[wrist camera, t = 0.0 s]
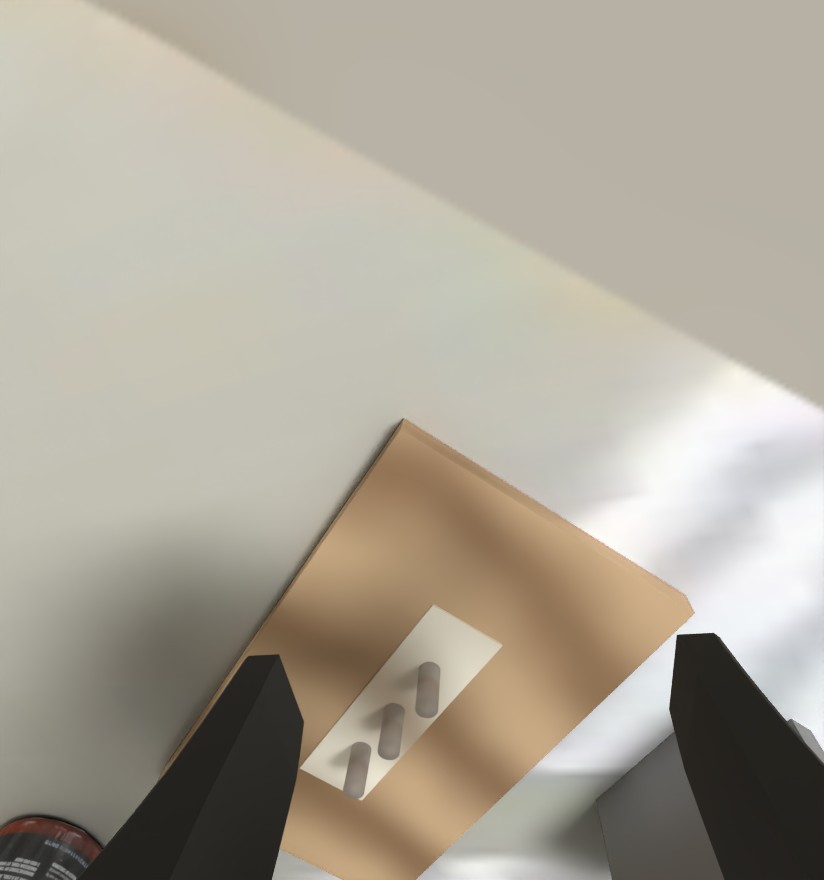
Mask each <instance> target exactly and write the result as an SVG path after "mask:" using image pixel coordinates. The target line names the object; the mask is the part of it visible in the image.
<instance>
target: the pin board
mask: <svg viewBox="0 0 824 880" xmlns="http://www.w3.org/2000/svg"><path fill="white" fill-rule="evenodd" d="M694 613H695V612H694V611H693V609H692V607H691V605H690V603H689V601H688V599H687V597H686V595H684V594H683V593H681V592H679V591H678V590H676V589H675V588H673V587H671V586H670V585H668V584H667V583H665V582H663V581H662V580H660V579H659V578H657V577H655V576H654V575H652V574H651V573H649V572H648V571H646V570H644V569H643V568H641V567H640V566H638V565H636V564H635V563H633V562H632V561H630V560H628V559H627V558H625V557H624V556H622V555H620V554H619V553H617V552H616V551H614V550H613V549H611V548H609V547H608V546H606V545H605V544H603V543H601V542H600V541H598V540H597V539H595V538H593V537H592V536H590V535H589V534H587V533H585V532H584V531H582V530H581V529H579V528H578V527H576V526H574V525H573V524H571V523H570V522H568V521H566V520H565V519H563V518H562V517H560V516H558V515H557V514H555V513H554V512H552V511H550V510H549V509H547V508H546V507H544V506H543V505H541V504H539V503H538V502H536V501H535V500H533V499H531V498H530V497H528V496H527V495H525V494H523V493H522V492H520V491H519V490H517V489H516V488H514V487H512V486H511V485H509V484H508V483H506V482H504V481H503V480H501V479H500V478H498V477H496V476H495V475H493V474H492V473H490V472H488V471H487V470H485V469H484V468H482V467H481V466H479V465H477V464H476V463H474V462H473V461H471V460H469V459H468V458H466V457H465V456H463V455H461V454H460V453H458V452H457V451H455V450H453V449H452V448H450V447H449V446H447V445H446V444H444V443H442V442H441V441H439V440H438V439H436V438H434V437H433V436H431V435H430V434H428V433H426V432H425V431H423V430H422V429H420V428H418V427H417V426H415V425H414V424H412V423H411V422H409V421H407V420H406V419H403V420H402V422H401V423H400V425H399V426H398V428H397V429H396V431H395V432H394V434H393V435H392V437H391V438H390V439H389V441H388V442H387V444H386V445H385V447H384V448H383V450H382V451H381V453H380V454H379V455H378V457H377V458H376V460H375V461H374V463H373V464H372V466H371V467H370V469H369V470H368V472H367V473H366V474H365V476H364V477H363V479H362V480H361V482H360V483H359V485H358V486H357V488H356V489H355V490H354V492H353V493H352V495H351V496H350V498H349V499H348V501H347V502H346V504H345V505H344V507H343V508H342V509H341V511H340V512H339V514H338V515H337V517H336V518H335V520H334V521H333V523H332V524H331V526H330V527H329V528H328V530H327V531H326V533H325V534H324V536H323V537H322V539H321V540H320V542H319V543H318V544H317V546H316V547H315V549H314V550H313V552H312V553H311V555H310V556H309V558H308V559H307V561H306V562H305V563H304V565H303V566H302V568H301V569H300V571H299V572H298V574H297V575H296V577H295V578H294V579H293V581H292V582H291V584H290V585H289V587H288V588H287V590H286V591H285V593H284V594H283V596H282V597H281V598H280V600H279V601H278V603H277V604H276V606H275V607H274V609H273V610H272V612H271V613H270V614H269V616H268V617H267V619H266V620H265V622H264V623H263V625H262V626H261V628H260V629H259V631H258V632H257V633H256V635H255V636H254V638H253V639H252V641H251V642H250V644H249V645H248V647H247V648H246V649H245V651H244V652H243V654H242V655H241V657H240V658H239V660H238V661H237V663H236V664H235V666H234V667H233V668H232V670H231V671H230V673H229V674H228V676H227V677H226V679H225V680H224V682H223V683H222V684H221V686H220V687H219V689H218V690H217V692H216V693H215V695H214V696H213V698H212V699H211V701H210V702H209V703H208V705H207V706H206V708H205V709H204V711H203V712H202V714H201V715H200V717H199V718H198V719H197V721H196V722H195V724H194V725H193V727H192V728H191V730H190V731H189V733H188V734H187V736H186V737H185V738H184V740H183V741H182V743H181V744H180V746H179V747H178V749H177V750H176V752H175V753H174V754H173V756H172V757H171V759H170V760H169V762H168V763H167V765H166V766H165V768H164V770H163V772H162V774H161V776H160V778H159V780H160V779H161V777H162V776H163V775H164V773H165V772H166V771H167V770H168V768H169V767H170V766H171V764H172V763H173V761H174V760H175V759H176V757H177V756H178V755H179V753H180V752H181V750H182V749H183V748H184V746H185V745H186V744H187V742H188V741H189V739H190V738H191V737H192V735H193V734H194V733H195V731H196V730H197V728H198V727H199V726H200V724H201V723H202V721H203V720H204V718H205V717H206V715H207V714H208V713H209V711H210V710H211V708H212V707H213V705H214V704H215V703H216V701H217V700H218V698H219V697H220V695H221V694H222V692H223V691H224V689H225V688H226V686H227V685H228V683H229V682H230V680H231V679H232V677H233V676H234V674H235V673H236V672H237V670H238V669H239V667H240V666H241V664H242V663H243V661H244V660H245V659H246V658H247V657H248V656H253V655H274V654H279V655H280V658H281V661H282V663H283V666H284V669H285V672H286V674H287V677H288V680H289V682H290V685H291V688H292V690H293V693H294V696H295V699H296V701H297V704H298V707H299V709H300V712H301V715H302V717H303V720H304V727H303V735H302V743H301V751H300V759H299V765H298V772H297V779H296V783H295V788H294V792H293V796H292V800H291V804H290V808H289V812H288V816H287V821H286V825H285V829H284V833H283V837H282V841H281V845H280V849H282V850H284V851H286V852H288V853H290V854H292V855H294V856H296V857H298V858H300V859H302V860H304V861H306V862H308V863H310V864H312V865H314V866H316V867H318V868H320V869H322V870H324V871H326V872H328V873H330V874H332V875H334V876H336V877H338V878H340V879H342V880H416V879H417V878H418V877H419V876H420V875H421V874H422V873H423V872H424V871H425V870H426V869H427V868H428V867H429V866H430V865H432V864H433V863H434V862H435V861H436V860H437V859H438V858H439V857H440V856H441V855H442V854H443V853H444V852H445V851H446V850H447V849H448V848H449V847H450V846H451V845H452V844H453V843H455V842H456V841H457V840H458V839H459V838H460V837H461V836H462V835H463V834H464V833H465V832H466V831H467V830H468V829H469V828H470V827H471V826H472V825H473V824H474V823H475V822H477V821H478V820H479V819H480V818H481V817H482V816H483V815H484V814H485V813H486V812H487V811H488V810H489V809H490V808H491V807H492V806H493V805H494V804H495V803H496V802H497V801H499V800H500V799H501V798H502V797H503V796H504V795H505V794H506V793H507V792H508V791H509V790H510V789H511V788H512V787H513V786H514V785H515V784H516V783H517V782H518V781H519V780H521V779H522V778H523V777H524V776H525V775H526V774H527V773H528V772H529V771H530V770H531V769H532V768H533V767H534V766H535V765H536V764H537V763H538V762H539V761H540V760H541V759H542V758H544V757H545V756H546V755H547V754H548V753H549V752H550V751H551V750H552V749H553V748H554V747H555V746H556V745H557V744H558V743H559V742H560V741H561V740H562V739H563V738H564V737H566V736H567V735H568V734H569V733H570V732H571V731H572V730H573V729H574V728H575V727H576V726H577V725H578V724H579V723H580V722H581V721H582V720H583V719H584V718H585V717H586V716H588V715H589V714H590V713H591V712H592V711H593V710H594V709H595V708H596V707H597V706H598V705H599V704H600V703H601V702H602V701H603V700H604V699H605V698H606V697H607V696H608V695H610V694H611V693H612V692H613V691H614V690H615V689H616V688H617V687H618V686H619V685H620V684H621V683H622V682H623V681H624V680H625V679H626V678H627V677H628V676H629V675H630V674H631V673H633V672H634V671H635V670H636V669H637V668H638V667H639V666H640V665H641V664H642V663H643V662H644V661H645V660H646V659H647V658H648V657H649V656H650V655H651V654H652V653H653V652H655V651H656V650H657V649H658V648H659V647H660V646H661V645H662V644H663V643H664V642H665V641H666V640H667V639H668V638H669V637H670V636H671V635H672V634H673V633H674V632H675V631H677V630H678V629H679V628H680V627H681V626H682V625H683V624H684V623H685V622H686V621H687V620H688V619H689V618H690V617H691V616H692V615H693V614H694ZM159 780H158V781H159Z"/></svg>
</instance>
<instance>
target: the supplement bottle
mask: <svg viewBox="0 0 824 880" xmlns="http://www.w3.org/2000/svg"><path fill="white" fill-rule="evenodd" d="M101 851H102V849H101V847H100V846H99V845H98V843H97V842H96V841H95V840H93V839H92V838H91V836H89V835H88V834H87V833H86V832H85V831H83V830H82V829H79V828H77V827H74V826H72V825H69V824H66V823H65V822H61V821H58V820H53V819H46V818H25V819H21V820H17V821H14V822H12V823H10V824H8V825H7V826H5V827H3V828H2V829H1V830H0V880H76V879H77V878H78V877H79V875H80V874H81V873H82V872H83V871H84V870H85V869H86V868H87V867H88V865H89V864H90V863H91V862H92V861H93V860H94V859H95V858H96V856H97V855H98V854H99V853H100V852H101Z"/></svg>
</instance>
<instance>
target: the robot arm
mask: <svg viewBox="0 0 824 880" xmlns="http://www.w3.org/2000/svg"><path fill="white" fill-rule="evenodd" d="M669 710H670V714H671V718H672V722H673V726H674V731H675V735H676V739H677V743H678V747H679V751H680V754H681V758H682V762H683V766H684V770H685V773H686V776H687V778H688V781H689V784H690V787H691V790H692V792H693V795H694V798H695V801H696V803H697V806H698V809H699V812H700V815H701V817H702V820H703V823H704V826H705V828H706V831H707V834H708V836H709V839H710V842H711V845H712V847H713V850H714V853H715V856H716V858H717V861H718V864H719V866H720V869H721V872H722V875H723V877H724V880H824V763H823V762H822V761H821V760H820V759H819V757H818V756H817V755H816V754H815V753H814V752H813V751H812V750H811V748H810V747H809V746H808V745H807V744H806V743H805V742H804V741H803V739H802V738H801V737H800V736H799V735H798V734H797V733H796V731H795V730H794V729H793V728H792V727H791V726H790V725H789V724H788V722H787V721H786V720H785V719H784V718H783V717H782V715H781V714H780V713H779V712H778V711H777V709H776V708H775V707H774V706H773V705H772V703H771V702H770V701H769V700H768V699H767V697H766V696H765V695H764V694H763V693H762V691H761V690H760V689H759V688H758V686H757V685H756V684H755V683H754V681H753V680H752V679H751V678H750V676H749V675H748V674H747V673H746V671H745V670H744V669H743V668H742V666H741V665H740V664H739V662H738V661H737V660H736V659H735V657H734V656H733V655H732V653H731V652H730V651H729V649H728V648H727V647H726V645H725V644H724V643H723V641H722V640H721V639H720V637H718V636H717V635H716V634H714V633H703V634H683V635H677V640H676V649H675V659H674V669H673V678H672V688H671V697H670V707H669ZM303 727H304V720H303V717H302V715H301V712H300V709H299V707H298V704H297V701H296V699H295V696H294V693H293V690H292V688H291V685H290V682H289V680H288V677H287V674H286V672H285V669H284V666H283V663H282V661H281V658H280V655H279V654H274V655H253V656H248V657H247V658H246V659H245V660H244V661H243V663H242V664H241V666H240V667H239V669H238V670H237V672H236V673H235V674H234V676H233V677H232V679H231V680H230V682H229V683H228V685H227V686H226V688H225V689H224V691H223V692H222V694H221V695H220V697H219V698H218V700H217V701H216V703H215V704H214V705H213V707H212V708H211V710H210V711H209V713H208V714H207V715H206V717H205V718H204V720H203V721H202V723H201V724H200V726H199V727H198V728H197V730H196V731H195V733H194V734H193V735H192V737H191V738H190V739H189V741H188V742H187V744H186V745H185V746H184V748H183V749H182V750H181V752H180V753H179V755H178V756H177V757H176V759H175V760H174V761H173V763H172V764H171V766H170V767H169V768H168V770H167V771H166V772H165V773H164V775H163V776H162V777H161V779H160V780H159V781H158V782H157V784H156V785H155V786H154V787H153V789H152V790H151V791H150V793H149V794H148V795H147V796H146V798H145V799H144V800H143V801H142V803H141V804H140V805H139V807H138V808H137V809H136V810H135V812H134V813H133V814H132V815H131V817H130V818H129V819H128V820H127V822H126V823H125V824H124V825H123V826H122V827H121V829H120V830H119V831H118V832H117V833H116V835H115V836H114V837H113V838H112V839H111V840H110V842H109V843H108V844H107V845H106V846H105V847H104V849H103V850H102V851H101V852H100V853H99V854H98V855H97V856H96V858H95V859H94V860H93V861H92V862H91V863H90V864H89V865H88V867H87V868H86V869H85V870H84V871H83V872H82V873H81V874H80V875H79V877H78V878H77V879H76V880H272V876H273V872H274V868H275V864H276V860H277V857H278V853H279V849H280V845H281V841H282V837H283V833H284V829H285V825H286V821H287V816H288V812H289V808H290V804H291V800H292V796H293V792H294V788H295V783H296V779H297V772H298V765H299V759H300V751H301V743H302V735H303Z"/></svg>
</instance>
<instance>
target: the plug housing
mask: <svg viewBox="0 0 824 880" xmlns="http://www.w3.org/2000/svg"><path fill="white" fill-rule="evenodd" d="M788 724H789V725H790V726H791V727H792V728H793V729H794V730H795V731H796V733H797V734H798V735H799V736H800V737H801V738H802V739H803V741H804V742H805V743H806V744H807V745H808V746H809V747H810V748H811V750H812V751H813V752H814V753H815V754H816V755H817V756H818V757H819V759H820V760H821V761H822V762H823V763H824V752H823V750H822V748H821V747H820V745H819V743H818V742H817V740H816V739H815V737H814V735H813V734H812V732H811V731H810V730H809V729H807V728H805V727H804V726H802V725H800V724H799V723H797V722H796V721H794V720H792V719H790V720H789V721H788ZM596 802H597V807H598V812H599V817H600V822H601V826H602V831H603V836H604V841H605V846H606V851H607V856H608V861H609V866H610V871H611V876H612V880H724V877H723V875H722V872H721V869H720V866H719V864H718V861H717V858H716V856H715V853H714V850H713V847H712V845H711V842H710V839H709V836H708V834H707V831H706V828H705V826H704V823H703V820H702V817H701V815H700V812H699V809H698V806H697V803H696V801H695V798H694V795H693V792H692V790H691V787H690V784H689V781H688V778H687V776H686V773H685V770H684V766H683V762H682V758H681V754H680V751H679V747H678V743H677V739H676V735H675V732H673V733H672V734H671V735H670V736H669V737H668V738H667V739H665V740H664V741H663V742H662V743H661V744H660V745H659V746H657V747H656V748H655V749H654V750H653V751H652V752H651V753H649V754H648V755H647V756H646V757H645V758H644V759H643V760H641V761H640V762H639V763H638V764H637V765H636V766H635V767H633V768H632V769H631V770H630V771H629V772H628V773H626V774H625V775H624V776H623V777H622V778H621V779H620V780H618V781H617V782H616V783H615V784H614V785H613V786H612V787H610V788H609V789H608V790H607V791H606V792H605V793H604V794H602V795H601V796H600V797H599V798H598V799H597V800H596Z"/></svg>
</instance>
